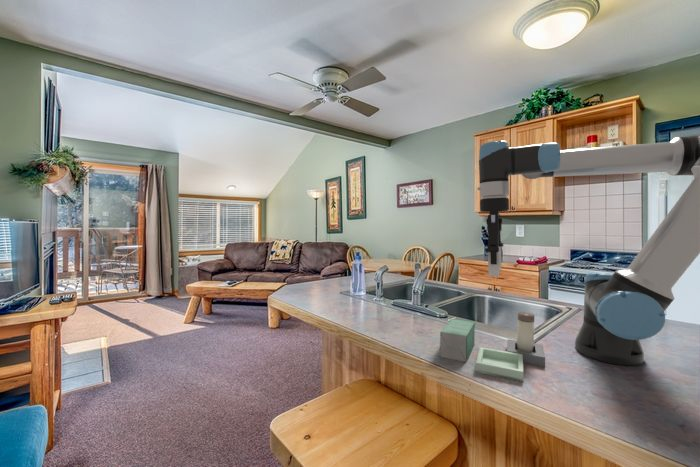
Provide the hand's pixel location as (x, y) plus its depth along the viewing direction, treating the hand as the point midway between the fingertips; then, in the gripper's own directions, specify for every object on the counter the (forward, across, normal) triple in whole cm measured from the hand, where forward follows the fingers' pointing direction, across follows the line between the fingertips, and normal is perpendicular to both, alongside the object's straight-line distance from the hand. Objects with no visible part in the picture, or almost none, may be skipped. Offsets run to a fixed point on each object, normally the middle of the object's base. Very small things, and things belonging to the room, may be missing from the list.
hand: (495, 272), depth 91 cm
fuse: (+24, 0, +7) cm, 25 cm away
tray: (+23, +10, +1) cm, 25 cm away
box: (+23, +4, -10) cm, 26 cm away
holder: (+24, 0, +7) cm, 25 cm away
